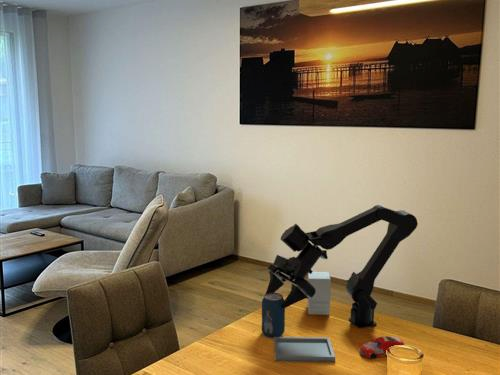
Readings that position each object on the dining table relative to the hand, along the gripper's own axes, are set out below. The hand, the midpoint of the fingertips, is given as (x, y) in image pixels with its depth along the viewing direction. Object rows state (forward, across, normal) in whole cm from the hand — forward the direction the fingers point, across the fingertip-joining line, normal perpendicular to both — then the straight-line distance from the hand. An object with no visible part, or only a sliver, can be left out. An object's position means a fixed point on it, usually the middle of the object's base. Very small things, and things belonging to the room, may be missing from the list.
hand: (273, 302), depth 137 cm
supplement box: (-9, -7, +23) cm, 26 cm away
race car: (-7, +24, +22) cm, 33 cm away
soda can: (+7, 0, +7) cm, 10 cm away
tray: (+6, +13, +8) cm, 17 cm away
